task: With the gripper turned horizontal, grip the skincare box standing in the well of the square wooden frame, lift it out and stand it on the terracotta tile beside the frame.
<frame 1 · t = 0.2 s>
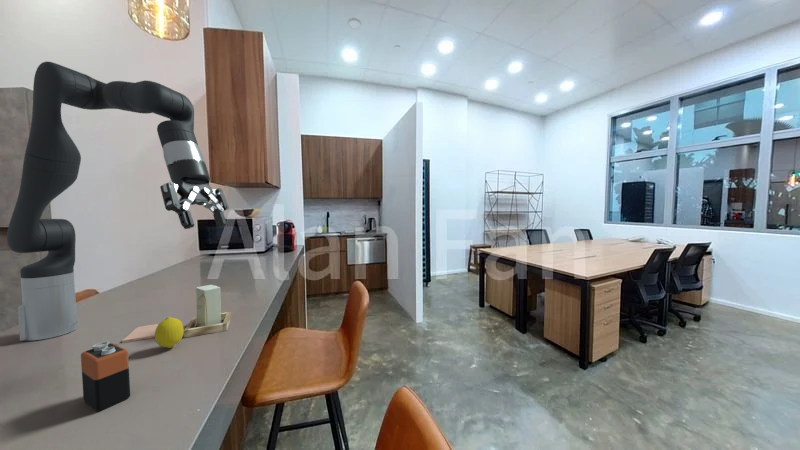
hand: (206, 227, 64), 31 cm above the countertop, tool tilted 20°, fingers open, 8 cm apart
lemon: (170, 348, 68), on the countertop
battery: (107, 400, 49), on the countertop
terracotta tile: (153, 331, 78), on the countertop
skincare box: (209, 327, 81), resting in square wooden frame
square wooden frame: (209, 326, 81), on the countertop
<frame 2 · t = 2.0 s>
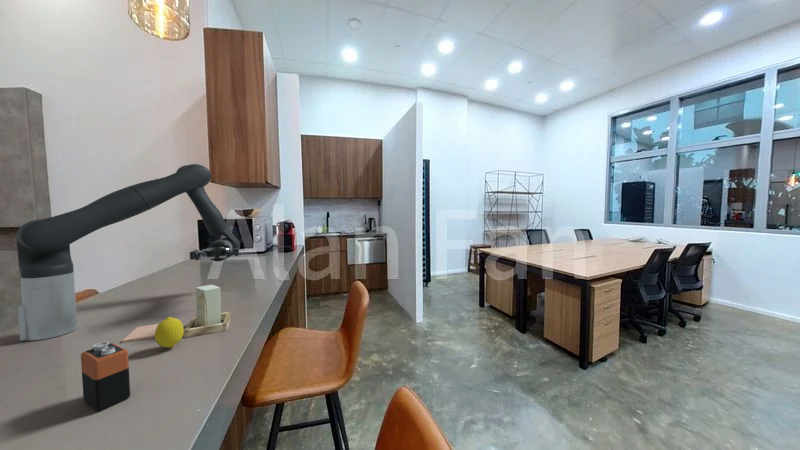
hand: (212, 255, 89), 20 cm above the countertop, tool horizontal, fingers open, 8 cm apart
nothing on the countertop moved.
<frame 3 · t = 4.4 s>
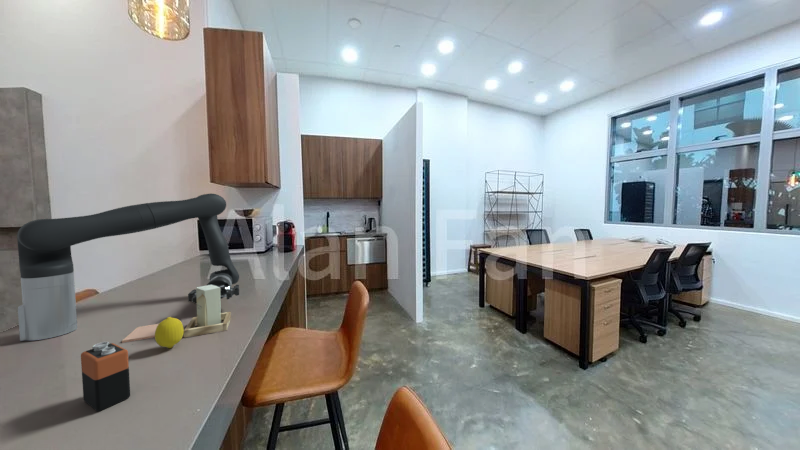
hand: (212, 298, 86), 7 cm above the countertop, tool horizontal, fingers open, 8 cm apart
nothing on the countertop moved.
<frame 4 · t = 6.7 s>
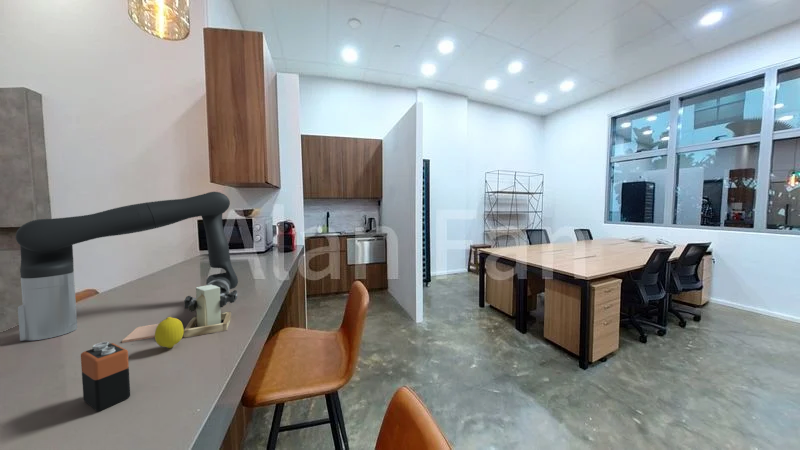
hand: (207, 306, 78), 7 cm above the countertop, tool horizontal, fingers closed on skincare box, 6 cm apart
skincare box: (209, 327, 81), resting in square wooden frame, touching gripper
everything else where it was.
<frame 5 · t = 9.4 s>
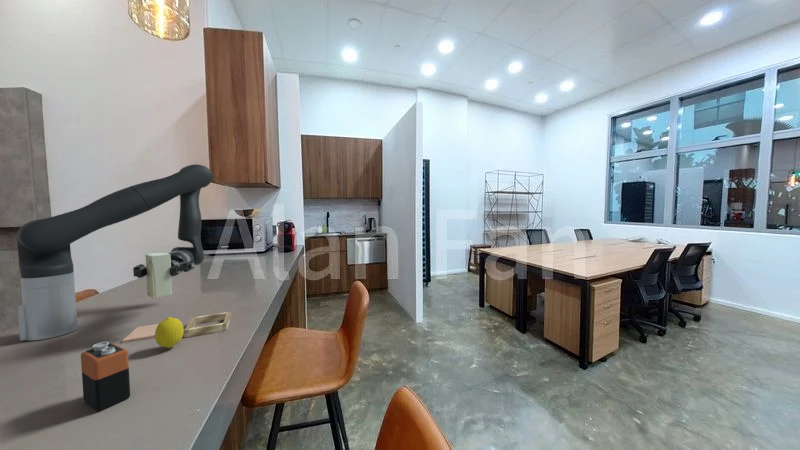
hand: (155, 272, 75), 18 cm above the countertop, tool horizontal, fingers closed on skincare box, 6 cm apart
skincare box: (160, 296, 77), point 10 cm above the countertop, touching gripper
everything else where it was.
when the fingers open (8 cm above the countertop, at t = 12.3 s): skincare box stays where it is, resting on terracotta tile.
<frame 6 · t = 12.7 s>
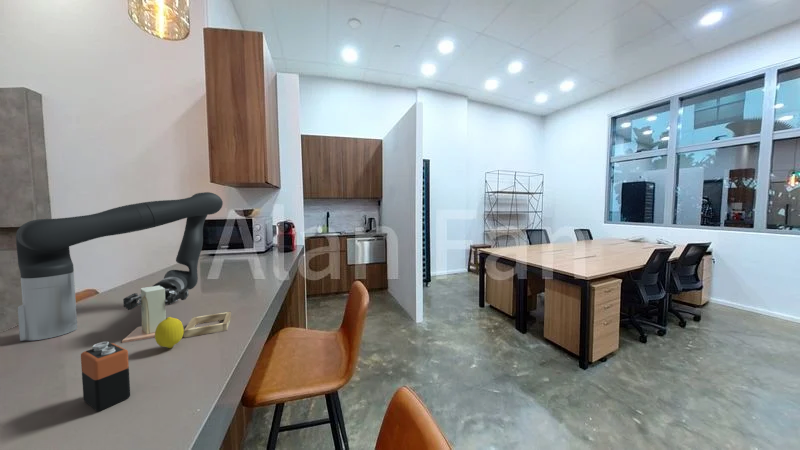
hand: (149, 303, 76), 9 cm above the countertop, tool horizontal, fingers open, 8 cm apart
skincare box: (154, 330, 78), resting on terracotta tile
everything else where it was.
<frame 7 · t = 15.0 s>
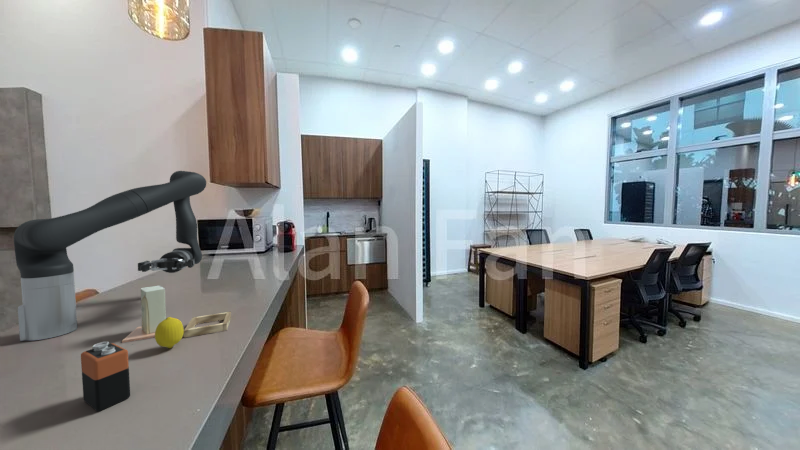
hand: (161, 267, 86), 17 cm above the countertop, tool horizontal, fingers open, 8 cm apart
nothing on the countertop moved.
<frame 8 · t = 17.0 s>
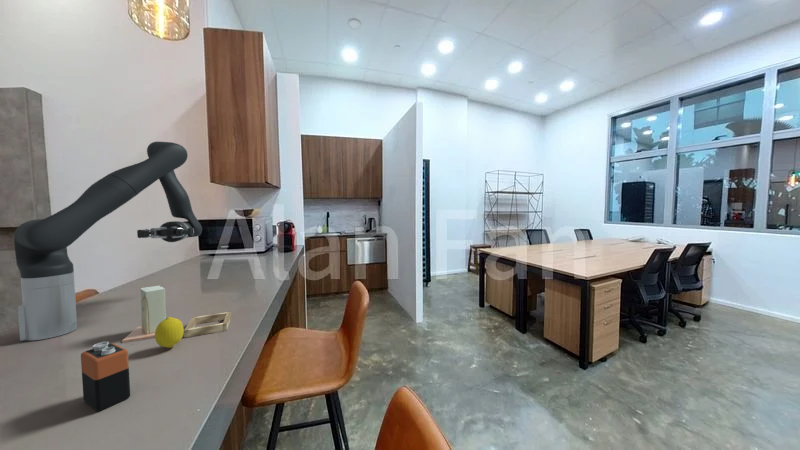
hand: (160, 233, 86), 28 cm above the countertop, tool horizontal, fingers open, 8 cm apart
nothing on the countertop moved.
at the end: skincare box inside the target area on the terracotta tile (0.3 cm from its centre), point 0.4 cm above the terracotta tile's base; skincare box tilted 0°; the gripper is holding nothing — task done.
